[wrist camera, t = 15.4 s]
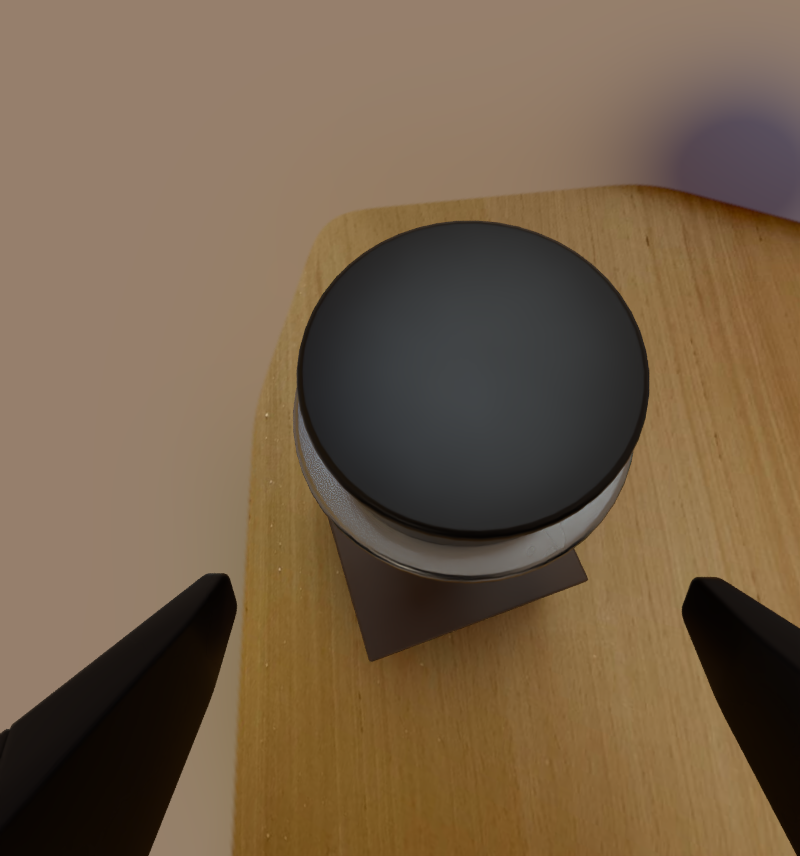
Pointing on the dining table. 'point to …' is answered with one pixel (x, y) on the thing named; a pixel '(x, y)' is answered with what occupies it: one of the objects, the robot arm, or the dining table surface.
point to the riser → (435, 598)
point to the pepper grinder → (469, 400)
